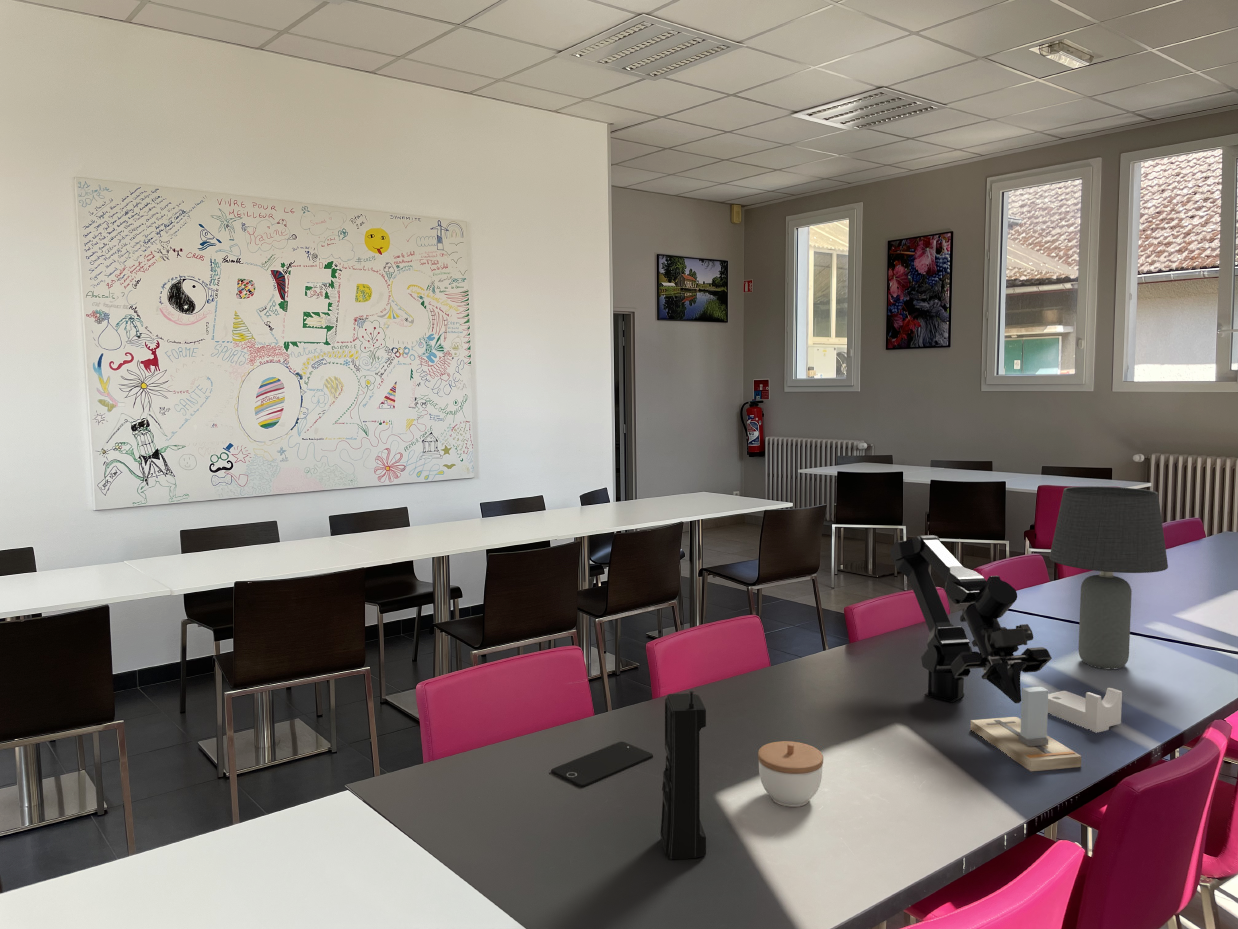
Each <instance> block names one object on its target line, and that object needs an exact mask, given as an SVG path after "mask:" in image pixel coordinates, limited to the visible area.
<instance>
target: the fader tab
mask: <svg viewBox="0 0 1238 929" xmlns="http://www.w3.org/2000/svg"><path fill="white" fill-rule="evenodd" d="M1048 694H1049V690H1048V689H1046V688H1044V687H1043V686H1031V687H1021V702H1020V703H1021V708H1020V719H1021V732H1020V734H1019V741H1021V742H1022V743H1024V744H1026V745H1027V746H1040V745H1048V738H1047V736H1048V715H1049V714H1048Z"/></svg>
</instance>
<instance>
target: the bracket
mask: <svg viewBox="0 0 1238 929" xmlns="http://www.w3.org/2000/svg"><path fill="white" fill-rule="evenodd" d="M1122 699H1123V691H1121V690H1120V689H1115V688H1113V687H1107V688H1106V692H1105V696H1104V697H1103V698H1102V696H1101V695H1098V694H1095V693H1092V692H1086V693H1085V697H1084V696H1081V695H1078V694H1075V693H1072V692H1070V691H1067V690H1061V691H1056V692H1053V693H1048V713H1050V714H1052V715H1051V716H1053V715H1055V716H1057V717H1056V718H1058V717H1059V718H1058V719H1060V718H1062V719H1061V720H1063V719H1064V720H1063V721H1065V720H1067V721H1066V722H1068V721H1069V722H1068V723H1070V722H1071V724H1073V723H1074V724H1073V725H1075V724H1076V725H1075V726H1078V725H1079V727H1080V726H1082V727H1081V728H1083V727H1084V728H1083V729H1085V730H1088V729H1090V730H1089V731H1091V730H1092V731H1091V732H1093V733H1096V734H1098V733H1101V732H1105V731H1109V729H1110V727H1112V726H1116V725H1121V724H1122V708H1123V707H1122V704H1123V703H1122V702H1123V700H1122ZM1050 714H1049V715H1050ZM1055 716H1054V717H1055ZM1097 732H1098V733H1097Z"/></svg>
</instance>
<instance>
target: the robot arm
mask: <svg viewBox="0 0 1238 929" xmlns="http://www.w3.org/2000/svg"><path fill="white" fill-rule="evenodd" d="M889 554H890V558H891V560H892V562H893V563H894V566H895V568H896V569H897V570H898V572H900V573H901V574H903V575H904V576H905V577H906V578H908V581H909V583H910V586H911V588H912V591H913V593H914V596H915V598H916V601H917V603H918V605H919V608H920V611H921V613H922V616H923V620H924V621H925V624H926V626H927V629H928V631H929V635H928V638H927V642H926V646H927V649H926V650H925V652H924V653H923V655H921V658H920V659H921V665H922V666H921V667H923V668H924V669H925V670H927V671H928V673H927V674H928V675H927V691H925V692H924V694H923V695H924V696H925V697H929V698H933V699H937V700H941V701H943V702H947V703H948V702H949V703H953V702H956V701H958V700H959V699H961V698H963V697H964V696H965V692H964V682H965V681H964V678H966V677H968V676H969V675H970V673H971V669H982V672H983V674H982V675H981V679H982V680H986V681H988V682H989V683H990V684H992V685H993V686H994V687H996V688H997V689H998V690H1000V691H1001V693H1002V694H1004V695H1005V696H1006V697H1007V698H1008V699H1010V701H1011V702H1013V703H1014V704H1020V703H1021V701H1022V687H1021V675H1022V674H1021V673H1024V674H1025V673H1026V674H1028V673H1037V672H1039V671H1041V670H1042V669H1043V668H1044V667H1045V666H1046V665H1047V664H1048V663H1049V662H1050V661H1051V660H1052V655H1051V653H1050V652H1049V650H1048V649H1047V648H1045V647H1042V646H1038V647H1037V646H1036V647H1027V648H1025V650H1024V651H1022V653H1021V654H1017V655H1015V654H1014V653H1017V652H1018V651H1019V649H1020V648H1019V646H1027V645H1028V642H1030V641H1033V639H1034V633H1033V630H1032V628H1031V627H1030V626H1029V624H1028V623H1025V624H1019V625H1016V626H1015V628H1007V627H1006V626H1002V625H1001V624H1000V621H999V620H998V619H1000V618H1002V617H1003V616H1004V615H1005V614H1006V613H1007V612H1008V610H1009V609H1010V608H1011V607H1012V606H1013V605H1014V604H1015V602H1016V601H1017V599H1018V592H1017V590H1016V589H1015V587H1013V586H1012V585H1011V584H1010V583H1009V582H1006V581H1004V580H1002V579H1001V577H1000V576H999V575H990V576H989V577H988V578H987V579H986V578H985V577H984V576H983V575H981V574H980V573H978V572H977V571H976V570H972V569H969V568H968V567H964V566H963V565H962V564H961V563H960V562H959V561H958V559H957V558H955V556H954V555H953V554H952V553H951V552H950V551H949V550H948V549H947V548H946V547H945V546H944V545H943V544H942V543H941V540H940V538H939V536H938V535H935V534H934V535H933V534H932V535H931V534H930V535H928V534H927V535H918V536H915V537H913V538H910V539H907V540H898V541H897V540H896V541H895V542H894V544H893V545H892V546H891V547H890V551H889ZM930 567H932V568H933V569H934V571H936V573H937V574H938V576H940V578H941V579H942V580H943V582H944V583H945V585H944V591H945V593H946V594H947V596H948V597H949V599H950V600H951V601H952V602H953V603H954V604H955V605H964V604H968V605H967V607H966V608H962V612H961V615H960V617H959V622H960V623H964V622H965V623H967V626H968V628H969V630H970V632H971V635H972V637H973V639H972V641H971V642H970V640H969V639H968V637H967V635H966V632H965V629H964V628H963V627H962V626H955V625H953V624H952V623H951V619H950V617H949V615H948V613H947V610H946V608H945V606H944V604H943V602H942V599H941V597H940V594H939V591H938V589H937V587H936V584H935V582H934V579H933V576H932V575H931V572H930V569H929V568H930ZM970 643H971V644H972V645H970ZM972 647H973V648H974V647H977V649H978V651H973V649H972Z"/></svg>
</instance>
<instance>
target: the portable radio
mask: <svg viewBox="0 0 1238 929" xmlns="http://www.w3.org/2000/svg"><path fill="white" fill-rule="evenodd" d="M688 692H689V693H668V694H667V697H666V698H665V699H664V750H665V753H666V756H665V768H664V770H663V773H662V774H663V775H662V778H663V779H662V788H661V791H662V803H661V804H662V806H661V821H660V838H661V843H662V846H663V849H664V854H665V855H666V856H668V859H670V860H686V859H687V860H689V859H690V860H691V859H696V858H698V859H699V858H701V857H703V856H707V836H706V833H705V830H704V828H703V825H702V822H701V819H700V818H701V816H700V812H701V810H700V805H701V804H700V802H701V801H700V799H701V797H700V795H701V794H700V792H701V791H700V780H701V779H700V733H701V732H700V731H701V729H704V728H705V727H707V709H706V707H705V705H704V703H703V701H702V699H701V697H700V695H699V694H695V693H694V692H695V691H693V690H690V691H688Z"/></svg>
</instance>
